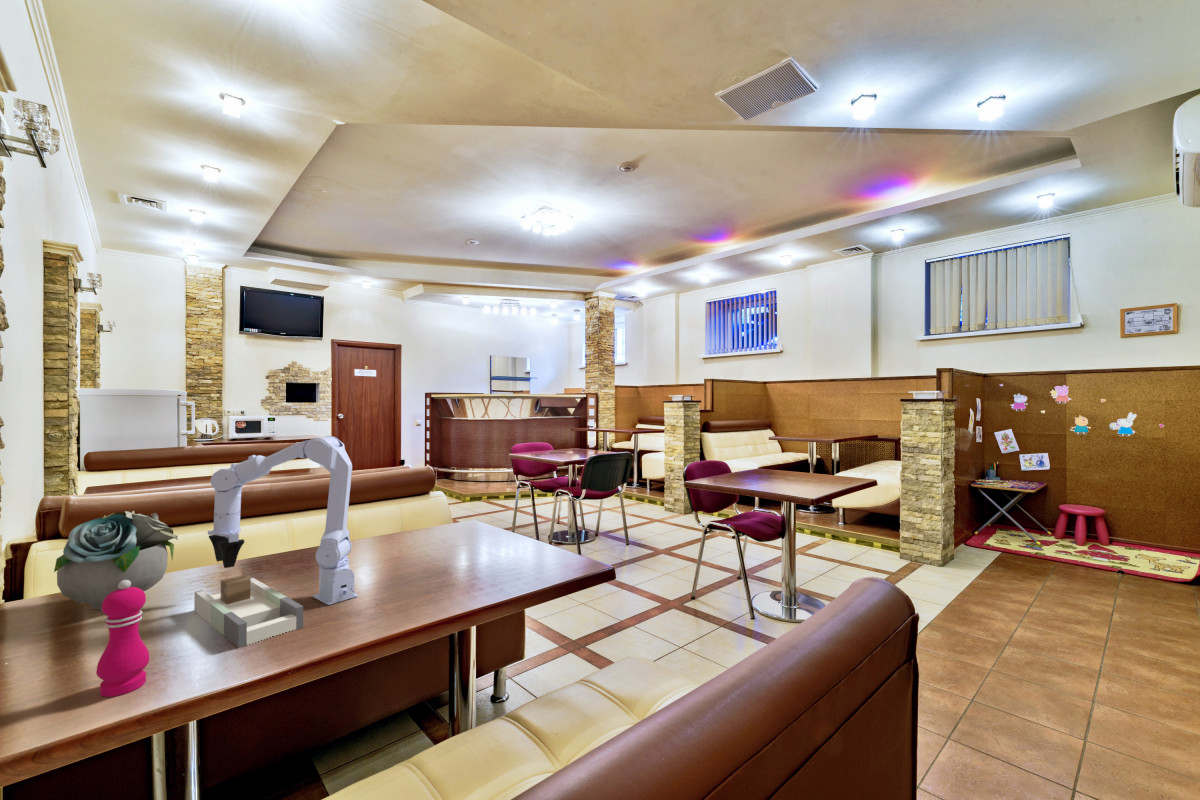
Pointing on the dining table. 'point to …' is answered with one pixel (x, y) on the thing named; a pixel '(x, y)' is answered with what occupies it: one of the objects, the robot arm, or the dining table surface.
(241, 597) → the walnut block
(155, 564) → the flower arrangement
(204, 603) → the tray
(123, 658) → the pepper mill
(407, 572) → the dining table surface
